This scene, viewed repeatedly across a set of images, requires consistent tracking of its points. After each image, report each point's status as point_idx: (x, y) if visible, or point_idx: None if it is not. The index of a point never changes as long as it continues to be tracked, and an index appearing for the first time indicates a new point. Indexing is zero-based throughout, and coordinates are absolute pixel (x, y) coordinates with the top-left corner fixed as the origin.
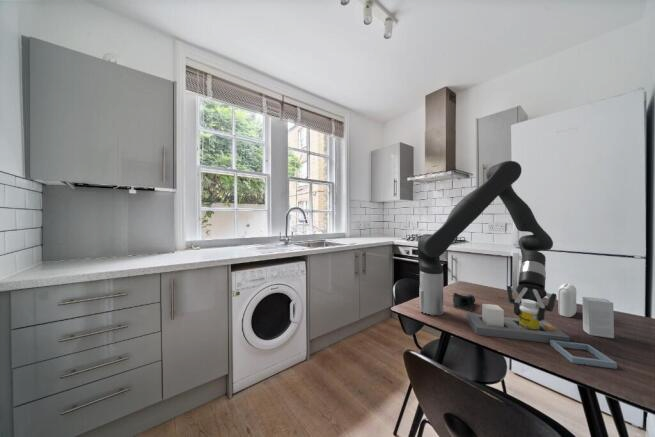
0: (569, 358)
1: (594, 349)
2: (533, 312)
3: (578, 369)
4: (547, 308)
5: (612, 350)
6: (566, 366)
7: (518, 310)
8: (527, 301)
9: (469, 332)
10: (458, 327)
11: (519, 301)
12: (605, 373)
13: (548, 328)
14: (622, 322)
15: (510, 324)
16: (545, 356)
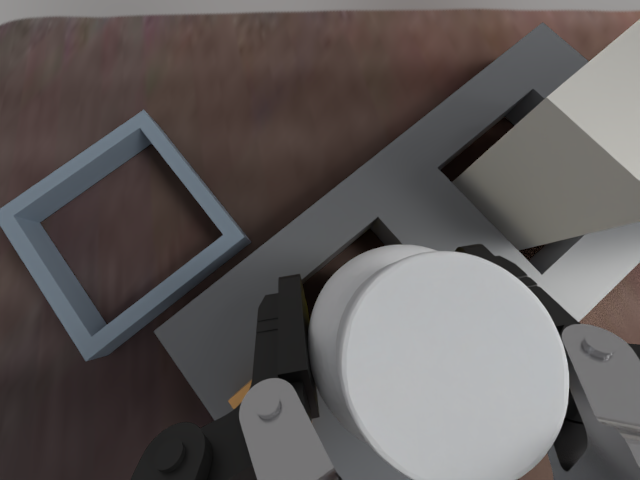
0: (161, 130)
1: (62, 305)
2: (341, 269)
3: (137, 90)
4: (216, 423)
5: (10, 458)
6: (172, 78)
7: None
8: (462, 325)
9: None
10: None
11: (571, 374)
12: (62, 139)
13: None
14: None
15: (453, 232)
16: (242, 97)
